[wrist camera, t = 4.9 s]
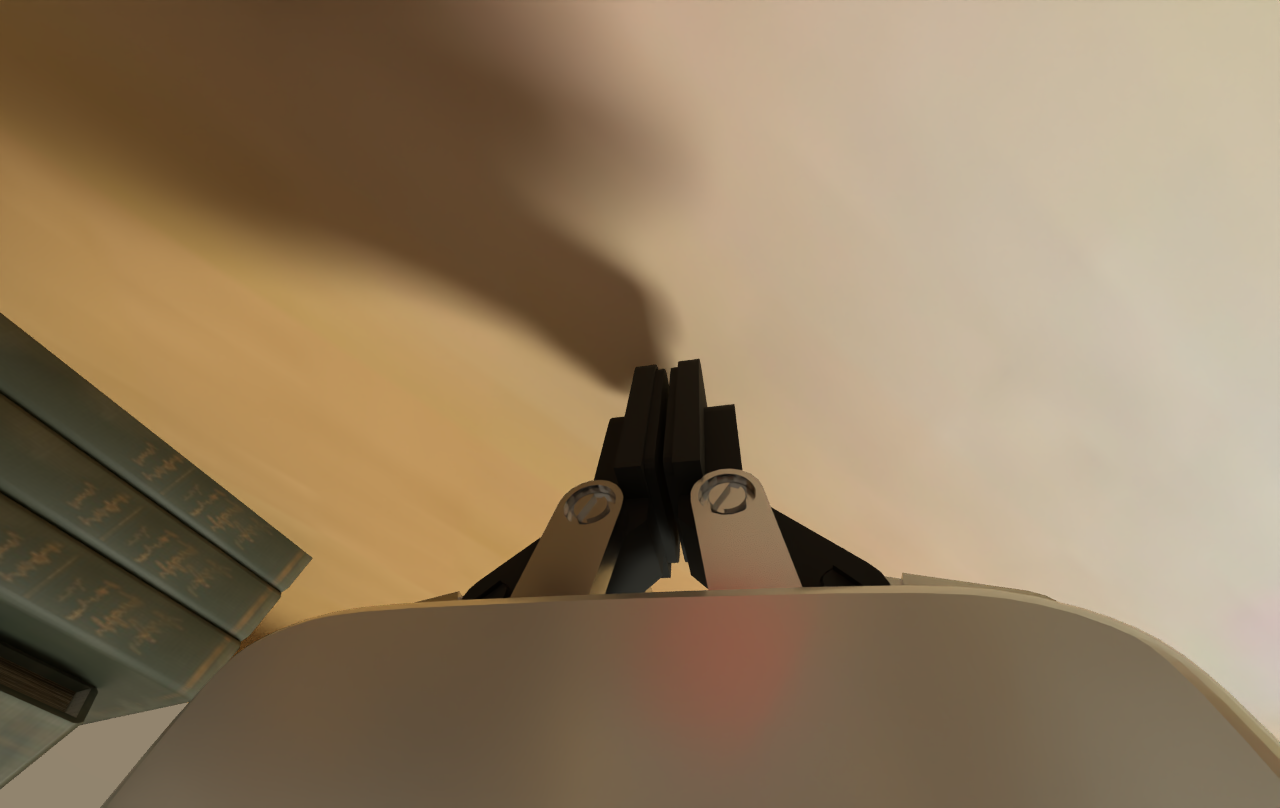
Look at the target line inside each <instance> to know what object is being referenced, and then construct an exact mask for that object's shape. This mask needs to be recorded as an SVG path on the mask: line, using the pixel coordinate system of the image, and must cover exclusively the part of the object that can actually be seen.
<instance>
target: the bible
mask: <svg viewBox="0 0 1280 808" xmlns="http://www.w3.org/2000/svg"><path fill="white" fill-rule="evenodd" d="M311 560H312V557H311V556H309V555H308V554H307V553H306V552H304V551H303V550H302V549H300V548H299V547H298V546H297V545H295V544H294V543H293V542H292V541H290V540H289V539H288V538H286V537H285V536H284V535H283V534H281V533H280V532H279V531H278V530H276V529H275V528H274V527H272V526H271V525H270V524H269V523H267V522H266V521H265V520H264V519H262V518H261V517H260V516H258V515H257V514H256V513H255V512H253V511H252V510H251V509H250V508H248V507H247V506H246V505H244V504H243V503H242V502H241V501H239V500H238V499H237V498H236V497H234V496H233V495H232V494H230V493H229V492H228V491H227V490H225V489H224V488H223V487H222V486H220V485H219V484H218V483H216V482H215V481H214V480H213V479H211V478H210V477H209V476H208V475H206V474H205V473H204V472H202V471H201V470H200V469H199V468H197V467H196V466H195V465H194V464H192V463H191V462H190V461H188V460H187V459H186V458H185V457H183V456H182V455H181V454H180V453H178V452H177V451H176V450H174V449H173V448H172V447H171V446H169V445H168V444H167V443H166V442H164V441H163V440H162V439H160V438H159V437H158V436H157V435H155V434H154V433H153V432H152V431H150V430H149V429H148V428H146V427H145V426H144V425H143V424H141V423H140V422H139V421H138V420H136V419H135V418H134V417H132V416H131V415H130V414H129V413H127V412H126V411H125V410H124V409H122V408H121V407H120V406H118V405H117V404H116V403H115V402H113V401H112V400H111V399H110V398H108V397H107V396H106V395H104V394H103V393H102V392H101V391H99V390H98V389H97V388H96V387H94V386H93V385H92V384H91V383H89V382H88V381H87V380H85V379H84V378H83V377H82V376H80V375H79V374H78V373H77V372H75V371H74V370H73V369H71V368H70V367H69V366H68V365H66V364H65V363H64V362H63V361H61V360H60V359H59V358H57V357H56V356H55V355H54V354H52V353H51V352H50V351H49V350H47V349H46V348H45V347H43V346H42V345H41V344H40V343H38V342H37V341H36V340H35V339H33V338H32V337H31V336H29V335H28V334H27V333H26V332H24V331H23V330H22V329H21V328H19V327H18V326H17V325H15V324H14V323H13V322H12V321H10V320H9V319H8V318H7V317H5V316H4V315H3V314H1V313H0V789H1V788H2V787H4V786H5V785H6V784H7V783H9V782H10V781H11V780H12V779H14V778H15V777H16V776H17V775H19V774H20V773H21V772H22V771H23V770H25V769H26V768H27V767H28V766H29V765H30V764H32V763H33V762H35V761H36V760H37V759H38V758H40V757H41V756H42V755H43V754H44V753H46V752H47V751H48V750H49V749H51V748H52V747H53V746H54V745H56V744H57V743H58V742H59V741H61V740H62V739H63V738H64V737H65V736H67V735H68V734H69V733H70V732H72V731H73V730H74V729H75V728H77V727H78V726H79V725H83V724H88V723H93V722H97V721H102V720H107V719H111V718H116V717H121V716H125V715H130V714H135V713H139V712H144V711H149V710H154V709H158V708H163V707H168V706H172V705H177V704H182V703H187V702H190V701H191V700H192V699H193V697H194V696H195V695H196V694H197V693H198V692H199V691H200V690H201V689H202V688H203V687H204V686H205V684H206V683H207V682H208V681H209V680H210V679H211V678H212V677H213V676H214V675H215V674H216V673H217V672H218V671H219V670H220V669H221V668H222V667H223V666H224V665H225V664H226V663H227V662H228V661H229V660H230V659H231V658H232V656H233V655H234V654H235V653H236V651H237V650H238V649H239V647H240V644H241V641H242V640H244V639H245V638H247V637H248V636H249V635H250V634H251V633H252V632H253V631H254V629H255V628H256V627H257V626H258V625H259V623H260V622H261V621H262V620H263V618H264V617H265V616H266V615H267V613H268V612H269V611H270V610H271V609H272V607H273V606H274V605H275V604H276V602H277V601H278V600H279V599H280V597H281V592H283V591H284V590H286V589H287V588H289V587H290V585H291V584H292V583H293V582H294V580H295V579H296V578H297V577H298V575H299V574H300V573H301V572H302V571H303V569H304V568H305V567H306V566H307V564H308V563H309V562H310V561H311Z"/></svg>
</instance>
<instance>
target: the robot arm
mask: <svg viewBox="0 0 1280 808" xmlns="http://www.w3.org/2000/svg"><path fill="white" fill-rule="evenodd" d="M680 542H681V546H682V551H683V555H684V559H685V562H688V564H689V568H690V572H691V575H692V576H693V577H694V578H695V579H697V580H698V581H699V582H700V583H701V584H703V585H704V586H705V587H706V588H707V589H708V590H704V591H675V592H652V588H651V586H652V585H653V584H654V583H655V582H656V581H658V580H659V579H660V578H671V563H678V562H679V556H680ZM100 808H1280V742H1279V741H1278V740H1277V739H1276V737H1275V736H1274V735H1273V734H1272V733H1270V732H1269V731H1268V730H1267V729H1266V728H1265V727H1264V726H1263V725H1262V724H1261V723H1260V722H1259V721H1258V720H1257V719H1256V718H1255V717H1254V716H1253V715H1252V714H1251V713H1250V712H1249V711H1248V710H1247V709H1246V708H1245V707H1244V706H1243V705H1241V704H1240V703H1239V702H1238V701H1237V700H1236V699H1235V698H1234V697H1233V696H1232V695H1231V694H1230V693H1229V692H1228V691H1227V690H1226V689H1224V688H1223V687H1222V686H1221V685H1220V684H1219V683H1218V682H1216V681H1215V680H1214V679H1213V678H1212V677H1211V676H1210V675H1208V674H1207V673H1206V672H1205V671H1203V670H1202V669H1201V668H1200V667H1198V666H1197V665H1196V664H1195V663H1193V662H1192V661H1191V660H1189V659H1188V658H1187V657H1186V656H1184V655H1183V654H1181V653H1180V652H1178V651H1177V650H1175V649H1174V648H1172V647H1170V646H1169V645H1167V644H1166V643H1164V642H1163V641H1161V640H1160V639H1158V638H1156V637H1154V636H1152V635H1150V634H1148V633H1146V632H1144V631H1142V630H1140V629H1138V628H1136V627H1133V626H1131V625H1128V624H1126V623H1123V622H1121V621H1118V620H1116V619H1113V618H1111V617H1108V616H1105V615H1102V614H1099V613H1096V612H1093V611H1090V610H1087V609H1084V608H1080V607H1076V606H1072V605H1068V604H1064V603H1060V602H1057V601H1056V600H1054V599H1052V598H1050V597H1048V596H1045V595H1042V594H1038V593H1034V592H1030V591H1026V590H1019V589H1012V588H1005V587H998V586H991V585H984V584H977V583H970V582H963V581H956V580H949V579H942V578H935V577H928V576H921V575H914V574H907V573H902V578H901V579H899V578H892V577H885V576H884V575H883V574H882V573H881V572H880V571H879V570H877V569H876V568H875V567H873V566H872V565H870V564H869V563H867V562H866V561H864V560H862V559H860V558H859V557H857V556H855V555H853V554H852V553H850V552H848V551H846V550H845V549H843V548H841V547H839V546H838V545H836V544H834V543H833V542H831V541H829V540H827V539H826V538H824V537H822V536H820V535H819V534H817V533H815V532H813V531H812V530H810V529H808V528H806V527H805V526H803V525H801V524H799V523H798V522H796V521H794V520H792V519H791V518H789V517H787V516H786V515H784V514H782V513H780V512H779V511H777V510H775V509H773V508H772V507H771V506H770V504H769V501H768V498H767V496H766V493H765V491H764V488H763V486H762V485H761V483H760V481H759V480H758V479H757V478H756V477H754V476H753V475H752V474H750V473H748V472H745V471H742V463H741V455H740V447H739V439H738V430H737V422H736V414H735V406H734V404H732V405H723V406H714V407H707V402H706V396H705V389H704V383H703V376H702V370H701V364H700V359H694V360H687V361H679V362H678V367H675V368H671V372H670V383H668V378H667V373H666V370H665V369H660V370H658V367H657V365H649V366H642V367H636V368H635V371H634V376H633V381H632V385H631V390H630V394H629V399H628V404H627V408H626V413H625V417H617V418H611V419H610V421H609V424H608V428H607V432H606V436H605V440H604V443H603V447H602V451H601V455H600V459H599V463H598V467H597V470H596V474H595V478H594V481H588V482H585V483H582V484H580V485H578V486H576V487H574V488H572V489H571V490H570V491H569V492H567V493H566V494H565V495H564V496H563V498H562V499H561V500H560V502H559V504H558V505H557V507H556V509H555V511H554V513H553V515H552V517H551V519H550V521H549V523H548V525H547V527H546V529H545V531H544V533H543V535H542V536H541V538H539V539H538V540H536V541H535V542H533V543H532V544H531V545H529V546H528V547H526V548H525V549H524V550H522V551H521V552H519V553H518V554H516V555H515V556H514V557H512V558H511V559H509V560H508V561H507V562H505V563H504V564H502V565H501V566H499V567H498V568H497V569H495V570H494V571H492V572H491V573H490V574H488V575H487V576H485V577H484V578H482V579H481V580H480V581H478V582H477V583H476V584H475V585H474V586H472V587H471V588H470V589H469V590H468V591H467V593H466V594H465V595H464V596H462V595H461V593H460V592H459V591H458V592H454V593H450V594H446V595H442V596H438V597H434V598H430V599H426V600H423V601H419V602H415V603H403V604H390V605H380V606H369V607H360V608H354V609H349V610H343V611H337V612H332V613H328V614H324V615H321V616H317V617H313V618H310V619H306V620H303V621H301V622H298V623H296V624H293V625H291V626H288V627H285V628H283V629H280V630H278V631H275V632H273V633H271V634H269V635H267V636H265V637H263V638H261V639H259V640H258V641H256V642H254V643H252V644H251V645H249V646H247V647H246V648H244V649H243V650H242V651H240V652H239V653H238V654H236V655H235V656H234V657H233V658H232V659H230V660H229V661H228V662H227V663H226V664H225V665H224V666H223V667H222V668H221V669H220V670H219V671H218V672H217V673H216V674H215V675H214V676H213V677H212V678H211V679H210V680H209V681H208V682H207V683H206V684H205V686H204V687H203V688H202V689H201V690H200V691H199V692H198V693H197V694H196V695H195V696H194V697H193V699H192V700H191V701H190V702H189V703H188V704H187V705H186V707H185V708H184V709H183V710H182V711H181V712H180V713H179V714H178V716H177V717H176V718H175V719H174V720H173V721H172V722H171V724H170V725H169V726H168V727H167V728H166V729H165V731H164V732H163V733H162V734H161V735H160V736H159V738H158V739H157V740H156V741H155V742H154V744H153V745H152V746H151V747H150V748H149V749H148V750H147V752H146V753H145V754H144V755H143V757H142V758H141V759H140V760H139V761H138V763H137V764H136V765H135V766H134V767H133V769H132V770H131V771H130V772H129V774H128V775H127V776H126V777H125V778H124V780H123V781H122V782H121V783H120V784H119V786H118V787H117V788H116V789H115V791H114V792H113V793H112V794H111V795H110V797H109V798H108V799H107V800H106V801H105V803H104V804H103V805H102V806H101V807H100Z"/></svg>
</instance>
